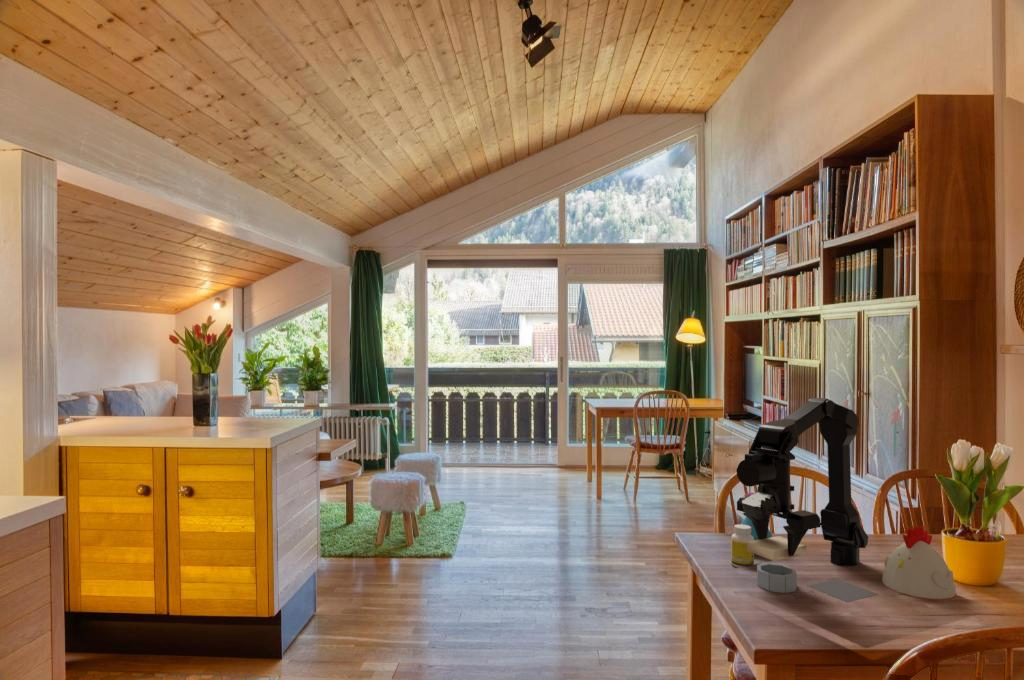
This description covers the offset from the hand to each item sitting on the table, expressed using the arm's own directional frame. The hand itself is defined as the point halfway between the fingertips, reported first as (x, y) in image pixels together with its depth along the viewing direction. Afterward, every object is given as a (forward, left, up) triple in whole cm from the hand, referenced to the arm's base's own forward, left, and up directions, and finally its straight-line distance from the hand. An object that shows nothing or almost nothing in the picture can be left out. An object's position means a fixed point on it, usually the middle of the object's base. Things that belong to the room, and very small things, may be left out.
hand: (776, 550), depth 142 cm
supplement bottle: (-6, -16, -10) cm, 20 cm away
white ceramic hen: (-28, +14, -10) cm, 33 cm away
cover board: (0, 0, 0) cm, 0 cm away
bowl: (0, 0, -9) cm, 9 cm away
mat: (-11, +8, -9) cm, 16 cm away
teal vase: (-18, -24, -10) cm, 31 cm away
